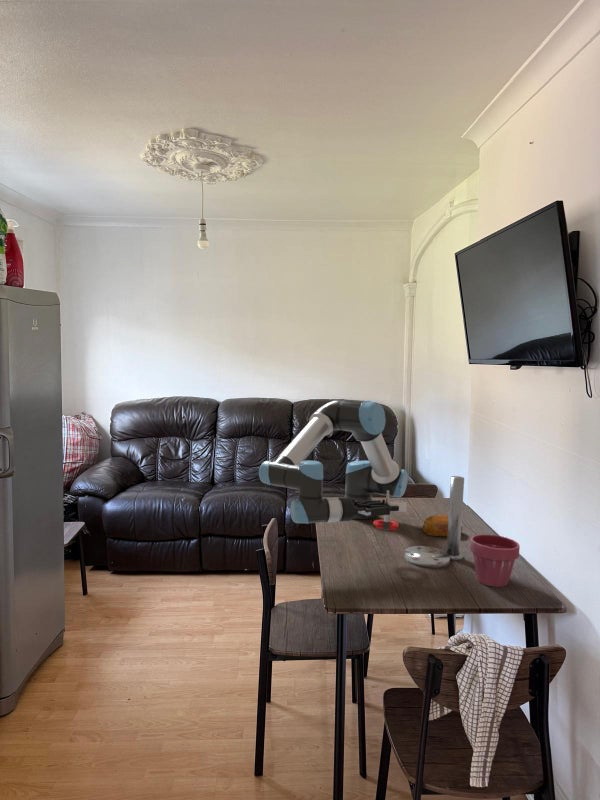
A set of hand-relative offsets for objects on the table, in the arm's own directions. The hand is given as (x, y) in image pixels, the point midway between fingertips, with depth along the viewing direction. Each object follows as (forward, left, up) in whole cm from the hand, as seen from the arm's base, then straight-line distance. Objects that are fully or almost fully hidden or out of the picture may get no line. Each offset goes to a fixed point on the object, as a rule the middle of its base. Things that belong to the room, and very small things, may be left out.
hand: (404, 506), depth 188 cm
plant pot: (+21, +20, -19) cm, 35 cm away
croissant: (-26, +30, -19) cm, 44 cm away
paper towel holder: (0, +12, -19) cm, 22 cm away
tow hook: (-3, -5, -8) cm, 10 cm away
